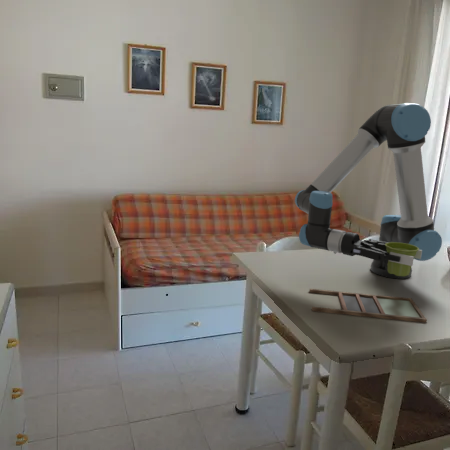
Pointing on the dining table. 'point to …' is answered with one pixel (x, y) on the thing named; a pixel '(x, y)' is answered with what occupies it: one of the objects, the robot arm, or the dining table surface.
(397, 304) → the frame
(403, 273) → the plant pot
